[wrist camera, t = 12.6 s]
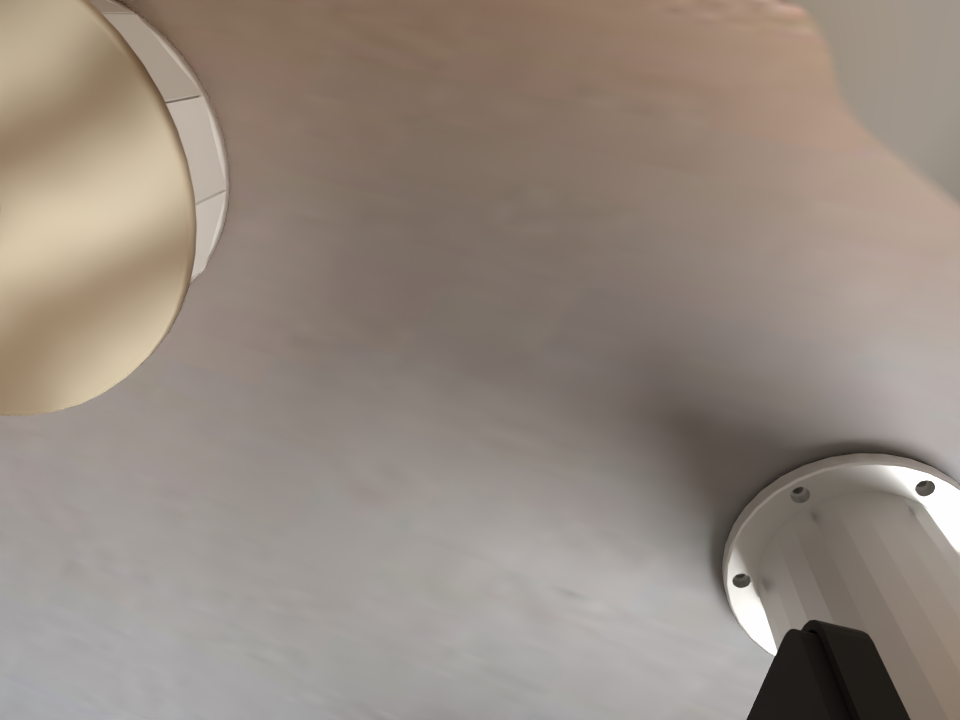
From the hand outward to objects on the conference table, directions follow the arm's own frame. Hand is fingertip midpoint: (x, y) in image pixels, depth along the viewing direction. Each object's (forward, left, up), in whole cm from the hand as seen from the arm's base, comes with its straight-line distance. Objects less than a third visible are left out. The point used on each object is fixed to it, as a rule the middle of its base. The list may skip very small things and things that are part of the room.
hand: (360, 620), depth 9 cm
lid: (+13, +16, -21) cm, 30 cm away
